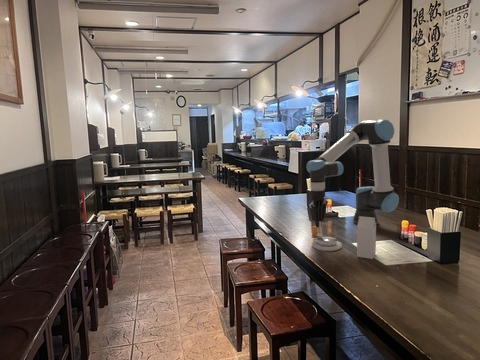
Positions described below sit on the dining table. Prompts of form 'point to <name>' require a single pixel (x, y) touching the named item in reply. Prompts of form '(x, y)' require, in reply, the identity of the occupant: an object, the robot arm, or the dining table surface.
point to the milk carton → (366, 237)
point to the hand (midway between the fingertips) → (318, 232)
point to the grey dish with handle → (323, 239)
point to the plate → (324, 248)
